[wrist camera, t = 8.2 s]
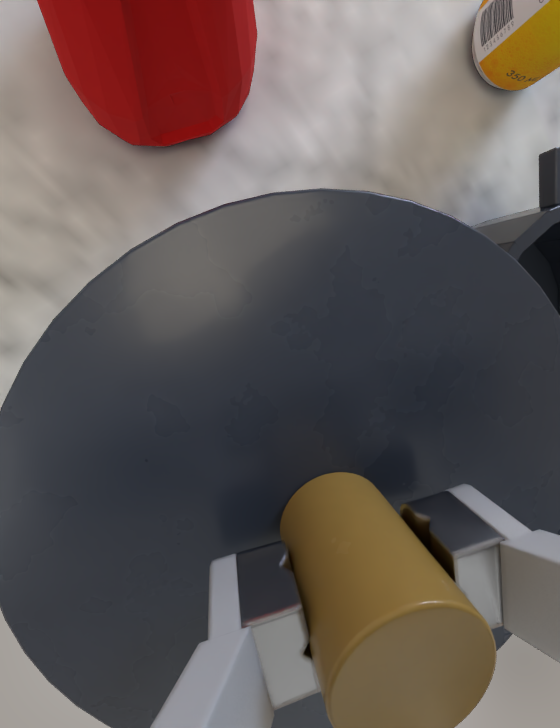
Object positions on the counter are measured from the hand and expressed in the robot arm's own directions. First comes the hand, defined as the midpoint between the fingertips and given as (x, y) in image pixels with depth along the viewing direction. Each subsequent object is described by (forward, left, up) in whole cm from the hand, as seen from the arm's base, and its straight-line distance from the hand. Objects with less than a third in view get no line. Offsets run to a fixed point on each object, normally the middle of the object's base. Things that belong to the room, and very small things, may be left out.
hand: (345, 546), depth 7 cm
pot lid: (0, 0, -2) cm, 2 cm away
